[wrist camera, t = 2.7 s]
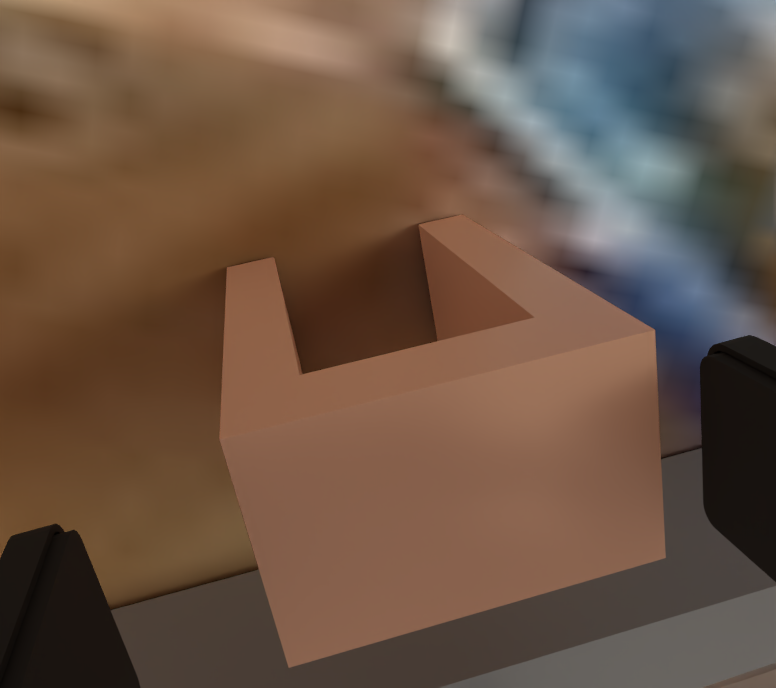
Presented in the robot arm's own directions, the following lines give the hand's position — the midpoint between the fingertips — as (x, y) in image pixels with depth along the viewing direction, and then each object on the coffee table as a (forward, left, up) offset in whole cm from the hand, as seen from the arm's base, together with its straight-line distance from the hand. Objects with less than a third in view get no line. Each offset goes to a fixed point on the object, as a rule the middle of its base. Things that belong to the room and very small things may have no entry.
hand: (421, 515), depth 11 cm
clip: (-1, 0, -10) cm, 10 cm away
